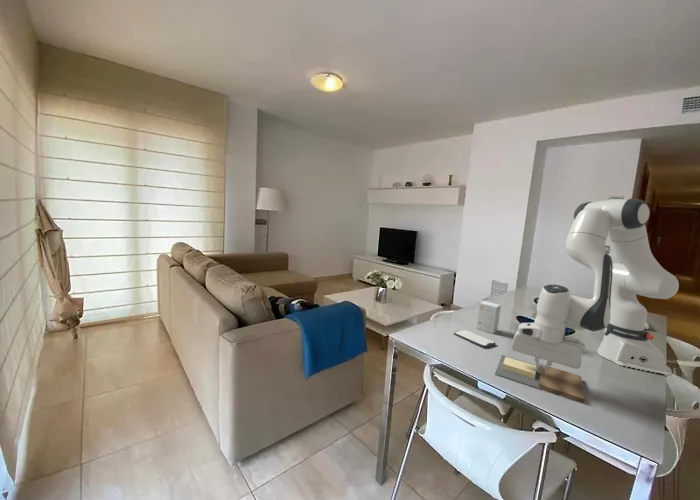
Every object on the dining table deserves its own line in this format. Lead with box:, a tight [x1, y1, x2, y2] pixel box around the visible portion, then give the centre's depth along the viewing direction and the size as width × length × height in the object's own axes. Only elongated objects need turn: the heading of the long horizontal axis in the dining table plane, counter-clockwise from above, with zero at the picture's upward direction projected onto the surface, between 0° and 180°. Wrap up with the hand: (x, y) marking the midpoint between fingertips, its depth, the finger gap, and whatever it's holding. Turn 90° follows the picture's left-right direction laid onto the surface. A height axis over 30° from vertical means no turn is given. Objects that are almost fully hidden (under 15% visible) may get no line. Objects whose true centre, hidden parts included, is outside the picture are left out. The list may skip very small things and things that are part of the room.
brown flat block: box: [539, 366, 586, 404], centre depth 103 cm, size 12×17×2 cm
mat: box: [494, 354, 543, 391], centre depth 109 cm, size 14×18×1 cm
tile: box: [502, 356, 537, 379], centre depth 109 cm, size 10×7×2 cm
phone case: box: [453, 329, 496, 349], centre depth 135 cm, size 9×2×16 cm
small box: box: [475, 300, 502, 334], centre depth 147 cm, size 8×6×13 cm
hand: (541, 370), depth 106 cm, fingers closed
